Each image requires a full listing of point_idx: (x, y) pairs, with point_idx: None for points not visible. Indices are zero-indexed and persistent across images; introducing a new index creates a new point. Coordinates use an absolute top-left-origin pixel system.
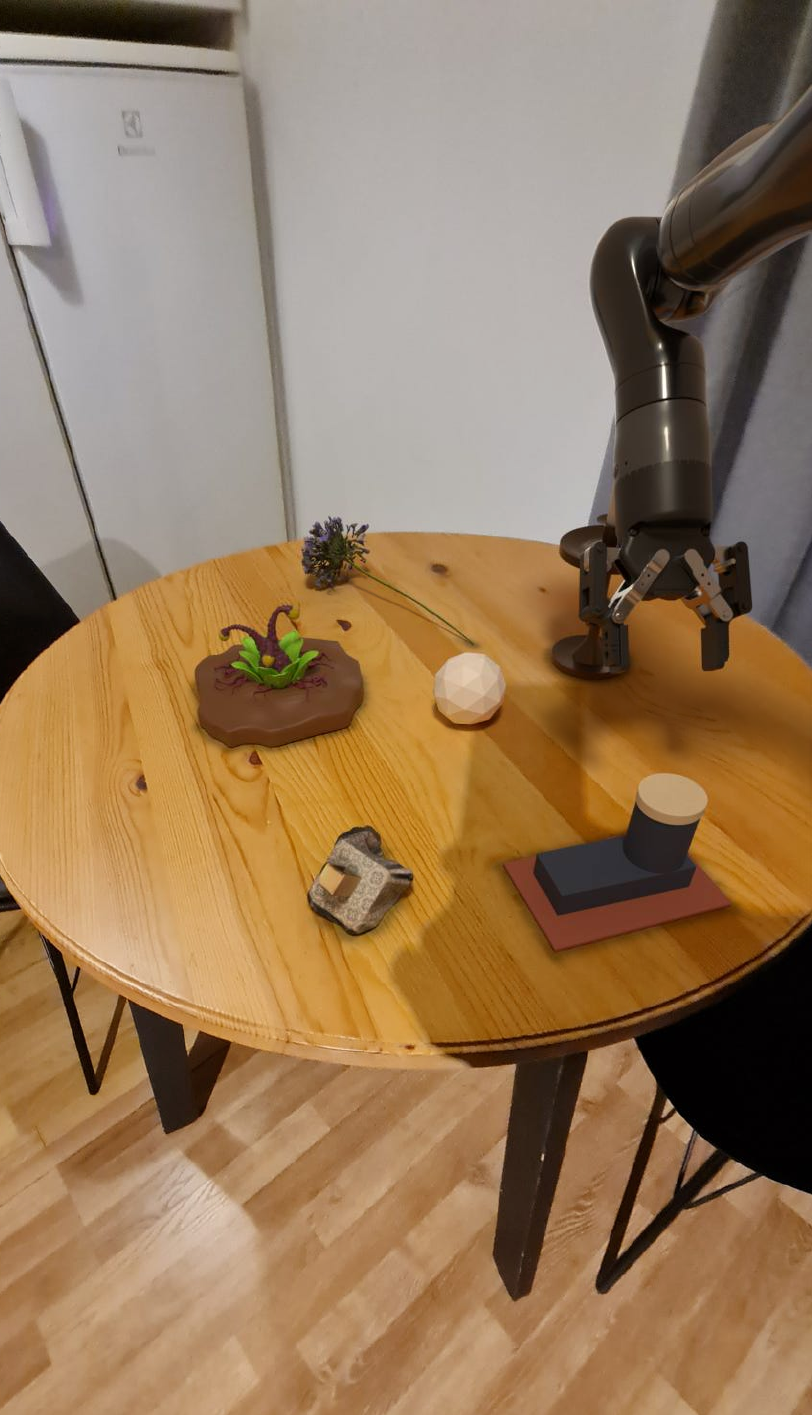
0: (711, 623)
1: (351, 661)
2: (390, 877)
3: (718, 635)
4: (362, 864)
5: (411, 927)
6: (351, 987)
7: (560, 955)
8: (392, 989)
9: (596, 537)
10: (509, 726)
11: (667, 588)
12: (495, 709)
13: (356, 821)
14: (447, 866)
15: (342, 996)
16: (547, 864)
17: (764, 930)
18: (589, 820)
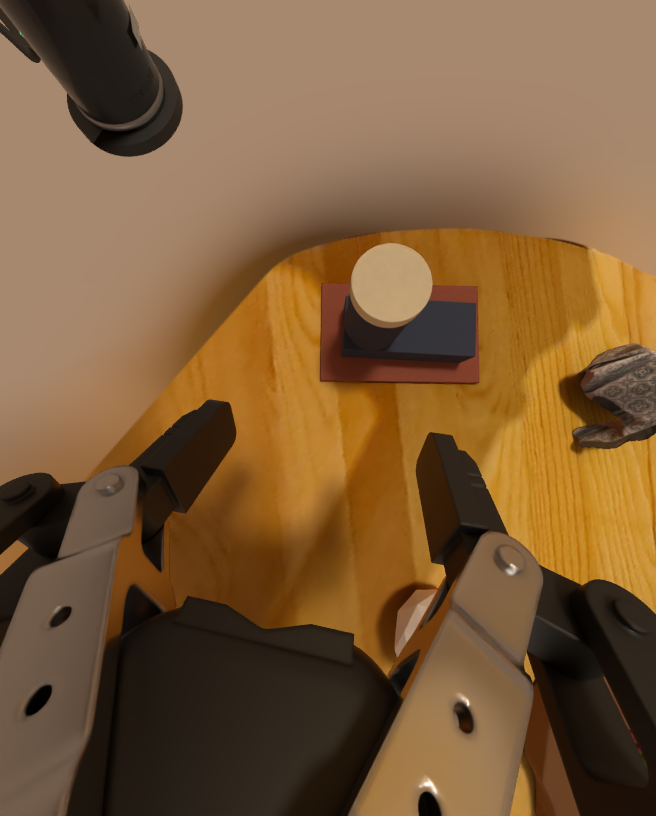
0: (163, 494)
1: (553, 783)
2: (643, 350)
3: (181, 442)
4: None
5: (571, 345)
6: (630, 307)
7: (471, 285)
8: (601, 296)
9: None
10: (385, 578)
11: (281, 658)
12: (415, 598)
13: (585, 481)
14: (522, 398)
15: (638, 301)
16: (472, 340)
17: (312, 257)
18: (377, 411)
